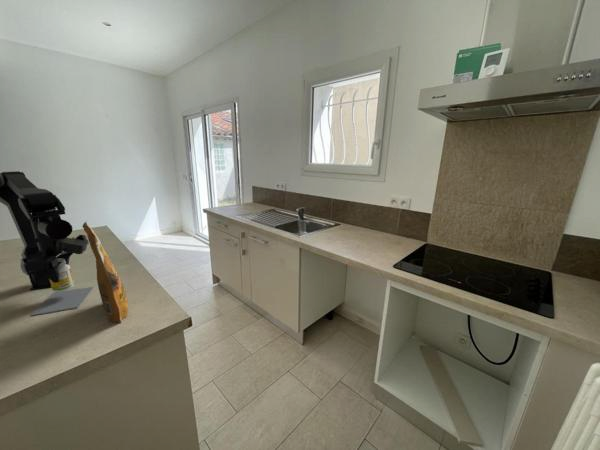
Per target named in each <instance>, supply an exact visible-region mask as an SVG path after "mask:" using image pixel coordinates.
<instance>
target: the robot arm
mask: <svg viewBox="0 0 600 450" xmlns="http://www.w3.org/2000/svg"><path fill="white" fill-rule="evenodd" d="M0 203H1V204H2V205H5V206H6V207H7V209H8V212H9V214H10V215H11V217H12V218H11V219H12V220H13V223H14V225H15V228H16V230H17V232H18V234H19V236H20V239H21V241H22V243H23V246H24V247H23V249H22V251H21V259H20V269H21V271H22V273H23V274H25V275H26V276H28V278H29V281H30V283H31V287H29V291H33V290H41V289H46V288H52V287H51V283H50V280H51V281H53V282H54V283H58V282H59V273H58V266H59V265H60V264H61V263H62V262H58V259H61V258H63V259H65V261H66V264H67V265H69V264H70V260H71V259H70V258H71V257H72V256H73V254H75V255H82V254H83V253H84V252H85V251H86V250H87V246H88V245H90V242H89V240H88V238H87V236H86V235H85V234H78V236H76V237H70V235H71V234H72V232H73V226H72V224H71V223H70V222H68V221H67V220H65V219H62V218H61V215H66V207H65V206H64V204H63V203H62V201H61V199H60V198H58V197H57V195H56V194H54V193H53V192H51V191H49V190H48V189H44V188H39V187H38V186H36V185H35V183H33V182H32V181H31V180H30V179H28V178H27V177H26V174H25V173H24V172H23V171H19V170H18V171H16V170H13V171H2V172H0ZM69 266H70V265H69ZM49 279H50V280H49Z"/></svg>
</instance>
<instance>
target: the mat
mask: <svg viewBox="0 0 600 450" xmlns="http://www.w3.org/2000/svg"><path fill="white" fill-rule="evenodd" d="M93 288H94V286H87V287H81V288H76V289H68V290H65V291H59V292H55V291H53V292H52V293H51V294H50V295H49V296H48V297H47V298H46V299H45V300H44V301H43V302H42V303H41V304H40V305H39V306H38V307H37V308H36V309H35V310H34V311H33V312H32V313H31V314H30V317H34V316H40V315H47V314H53V313H58V312H63V311H69V310H74V309H78V308H79V307H80V306H81V305H82V303H83V302H84V301H85V299H86V298H87V296H88V295H89V294H90V293H91V291H92V290H93Z"/></svg>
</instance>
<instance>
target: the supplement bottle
mask: <svg viewBox="0 0 600 450" xmlns="http://www.w3.org/2000/svg"><path fill="white" fill-rule="evenodd" d="M58 262H62V263H61V264H60V265H59V266H58V273H59V282H58V283H54V282H53V281H51V280H50V279H49V280H50V283H51V287H50V288H51V290H52V291H53V292H61V291H67V290H71V289H72V288H73V287H75V280H74V276H73V272H72V269H71V266H70V265H67V264H66V261H65V259H63V258H61V259H58Z"/></svg>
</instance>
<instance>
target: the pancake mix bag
mask: <svg viewBox="0 0 600 450" xmlns="http://www.w3.org/2000/svg"><path fill="white" fill-rule="evenodd" d="M82 228H83V230H84V232H85V234H86V235H87V236H86V237H87V240H88V242H89V245H90V248H91V250H92V253H93V255H94V257H95V266H96V267H95V268H96V280H97V287H98V292H99V295H100V299H101V302H102V305H103V309H104V311H105V313H106V316H107V317H108V321H109V322H111V323H122V320H124V319H125V318H127V316H128V314H129V305H128V297H127V294H126V292H127V291H126V289H125V287H124V284H123V281H122V279H121V278H120V275H119V274H118V272H117V270H116V268H115V266H114V264H113V263H112V261H111V259H110V258H109V257H110V256H109V255H108V254H107V252H106V251H105V249H104V247H103V245H102V243H101V240H100V239H99V238H98V236H97V234H96V233H95V231H94V230H93V229H92V228H91V227H90V226H89V225H88V222H87V221H84V223H83V224H82Z"/></svg>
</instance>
